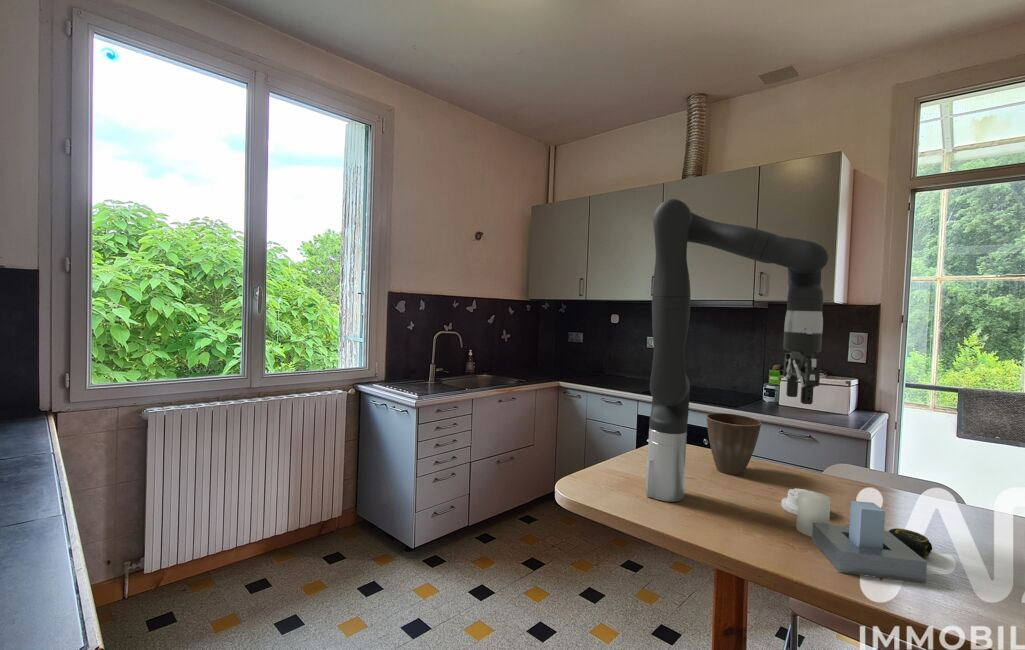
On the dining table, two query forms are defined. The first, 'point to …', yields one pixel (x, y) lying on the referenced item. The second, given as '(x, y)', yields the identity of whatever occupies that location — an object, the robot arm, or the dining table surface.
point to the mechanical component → (791, 500)
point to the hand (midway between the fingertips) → (798, 400)
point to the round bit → (812, 511)
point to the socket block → (869, 555)
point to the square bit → (866, 525)
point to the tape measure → (913, 541)
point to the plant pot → (732, 441)
